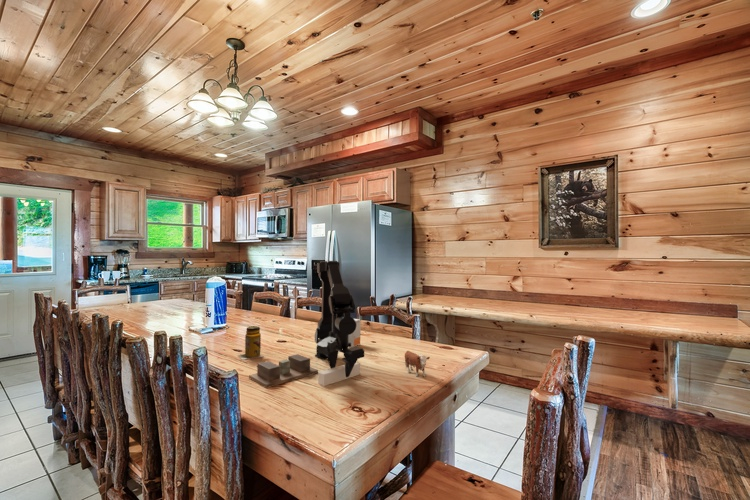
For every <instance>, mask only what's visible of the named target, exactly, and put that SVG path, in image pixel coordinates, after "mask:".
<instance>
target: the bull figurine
mask: <svg viewBox="0 0 750 500" xmlns="http://www.w3.org/2000/svg"><path fill="white" fill-rule="evenodd" d="M430 358H431V357H430V356H426V355H425V354H416V353H415V352H412V351H409V350H406V352H405V353H404V360H405V361H404V365H405V368H406V369H407V373H408V374H411V371H414V369H413V368H415V371H416V373H415V377H417V378H418V377H419V370H420V371H422V376H423V377H424V378H426V377H427V375H426V372H425V371H426V370H425V368H426V367H425V366H426V365H427V364H426V363H427V360H429V359H430Z"/></svg>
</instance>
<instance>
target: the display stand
mask: <svg viewBox="0 0 750 500" xmlns="http://www.w3.org/2000/svg"><path fill="white" fill-rule="evenodd" d="M318 372H319V370H318V369H316V368H314V367H311V358H309V357H306V356H303V355H301V354H298V353H297V354H292V355H289V356H288V358H287V359H283V360H278V364H276V363H273V362H271V361H268V360H265V361H262V362H258V363H257V373H252V374H249V375H248V379H250V380H252V381H254V382H255V383H256V384H258V385H260V386H262V387H264V388H265V389H266V388H267V389H268V388H271V387H274V386H276V385H277V386H278V385H280V384H284V383H287V382H291V381H294V380H299V379H301V378H305V377H309V376H312V375H314V374H318Z"/></svg>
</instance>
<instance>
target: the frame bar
mask: <svg viewBox="0 0 750 500" xmlns="http://www.w3.org/2000/svg"><path fill="white" fill-rule="evenodd" d="M317 374H318V375H317V377H318V378H317V381H318V382H317V383H318V385H320V386H322V387H326V386H329V385H331V384H334V383H338V382H340V381H341V382H342V381H344V380H346V379H349V378H352V377H355V376H359V375H361V363H359V362H358V361H356V363H355V365H354V367H353V369H352V371H351V373H350V375H349V377H346V374H345V364H343V365H339V366H336V367H335V368H328V369H325V370H324V369H323V370H322V371H318V373H317Z"/></svg>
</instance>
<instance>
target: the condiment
mask: <svg viewBox="0 0 750 500" xmlns="http://www.w3.org/2000/svg"><path fill="white" fill-rule="evenodd" d="M260 332H261V327H260V326H257V325H256V326H255V325H252V326H248V327H246V332H245V339H244V340H245V341H244V342H245V343H244V345H245V346H244V351H245V353H244V354H238V355H237V356H238V357H239V359H240V360H241V361H242V360H243V361H244V360H250V359H259V358H263V357H264V356H263V355H262V354H261V343H262V342H261V339H262V337H261V335H262V334H261V333H260Z"/></svg>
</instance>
